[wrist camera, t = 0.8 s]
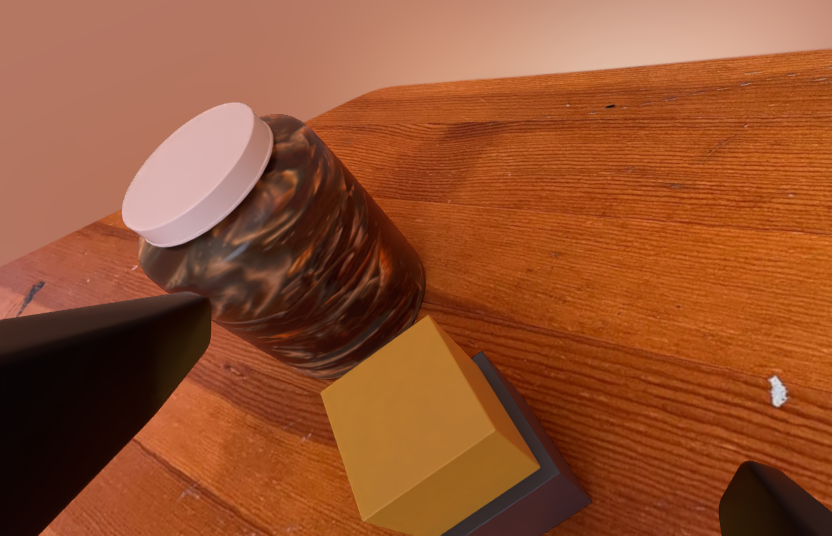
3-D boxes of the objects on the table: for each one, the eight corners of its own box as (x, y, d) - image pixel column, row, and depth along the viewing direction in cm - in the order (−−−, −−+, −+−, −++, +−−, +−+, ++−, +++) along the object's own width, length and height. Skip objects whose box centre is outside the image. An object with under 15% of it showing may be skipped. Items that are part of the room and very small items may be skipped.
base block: (592, 501, 23) (560, 472, 18) (483, 574, 23) (426, 562, 19) (521, 395, 27) (481, 350, 22) (430, 458, 27) (372, 426, 23)
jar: (354, 216, 41) (218, 66, 30) (457, 268, 33) (324, 92, 22) (258, 333, 39) (74, 218, 28) (344, 417, 31) (136, 305, 20)
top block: (541, 467, 19) (496, 429, 15) (431, 541, 19) (361, 522, 15) (477, 365, 22) (428, 313, 18) (385, 429, 22) (319, 391, 19)
